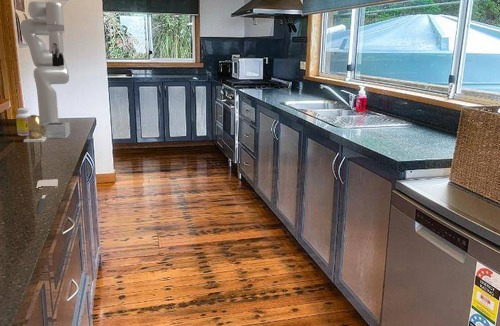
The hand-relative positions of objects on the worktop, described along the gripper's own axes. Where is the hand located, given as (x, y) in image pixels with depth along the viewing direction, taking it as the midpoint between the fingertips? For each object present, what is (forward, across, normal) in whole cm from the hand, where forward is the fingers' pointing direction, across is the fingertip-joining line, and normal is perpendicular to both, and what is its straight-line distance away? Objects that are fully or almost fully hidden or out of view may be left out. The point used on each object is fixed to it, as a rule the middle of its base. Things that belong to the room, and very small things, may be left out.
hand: (58, 65), depth 223 cm
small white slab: (+34, +103, +14) cm, 109 cm away
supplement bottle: (+34, +4, -17) cm, 38 cm away
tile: (+33, +18, -9) cm, 39 cm away
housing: (+33, +8, -2) cm, 34 cm away
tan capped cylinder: (+32, +18, -9) cm, 38 cm away
